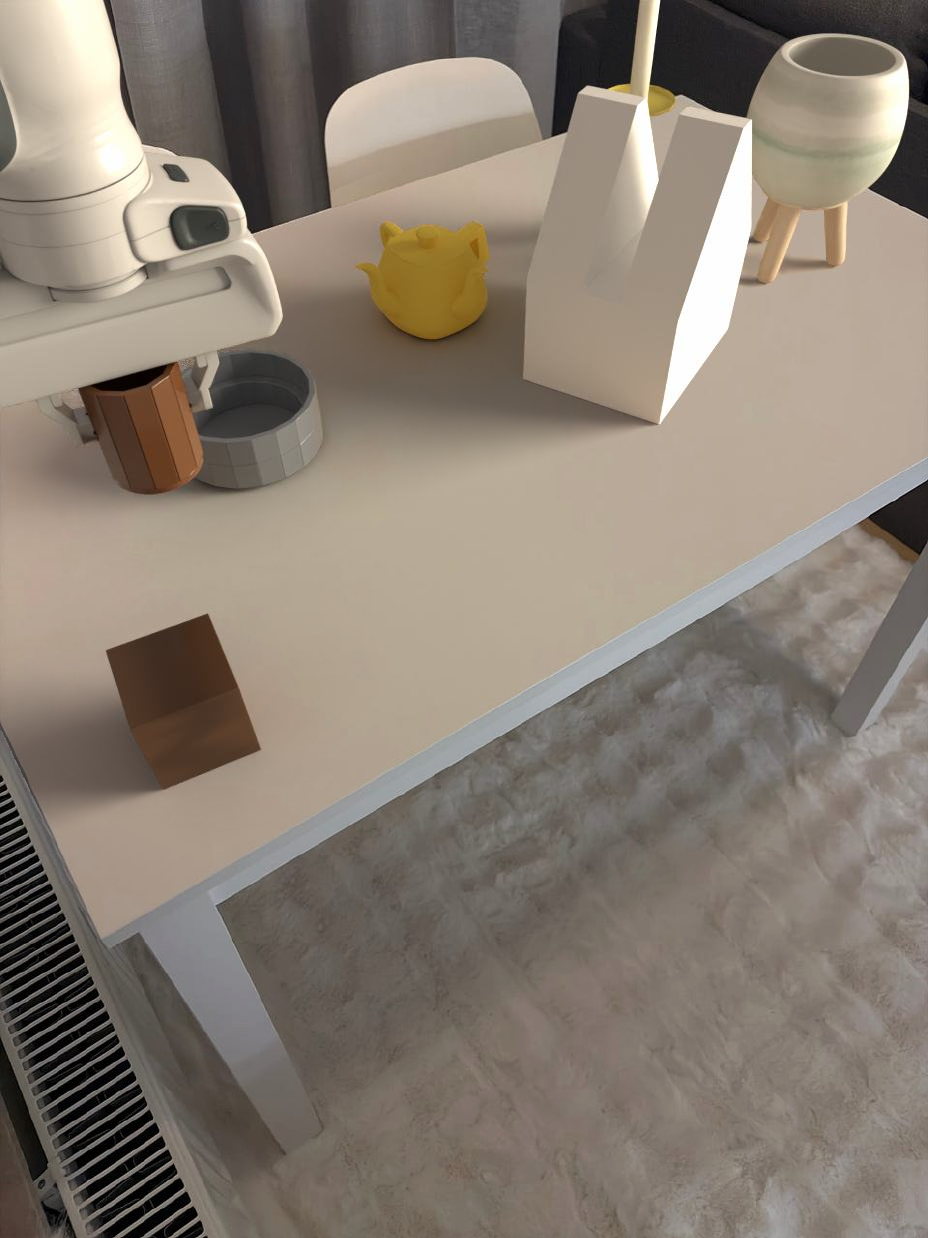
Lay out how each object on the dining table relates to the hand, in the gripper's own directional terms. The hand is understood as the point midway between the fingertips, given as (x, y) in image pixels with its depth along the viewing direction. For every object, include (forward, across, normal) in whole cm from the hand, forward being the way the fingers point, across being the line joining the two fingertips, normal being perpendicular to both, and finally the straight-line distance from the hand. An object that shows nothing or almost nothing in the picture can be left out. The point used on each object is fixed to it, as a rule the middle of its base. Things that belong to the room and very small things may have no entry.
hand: (144, 422), depth 60 cm
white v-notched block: (+20, +51, +15) cm, 57 cm away
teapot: (+20, +35, +32) cm, 51 cm away
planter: (+19, +78, +22) cm, 84 cm away
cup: (+4, 0, 0) cm, 4 cm away
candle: (+20, +66, +38) cm, 78 cm away
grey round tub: (+20, +10, +20) cm, 30 cm away
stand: (+20, -4, -10) cm, 23 cm away
